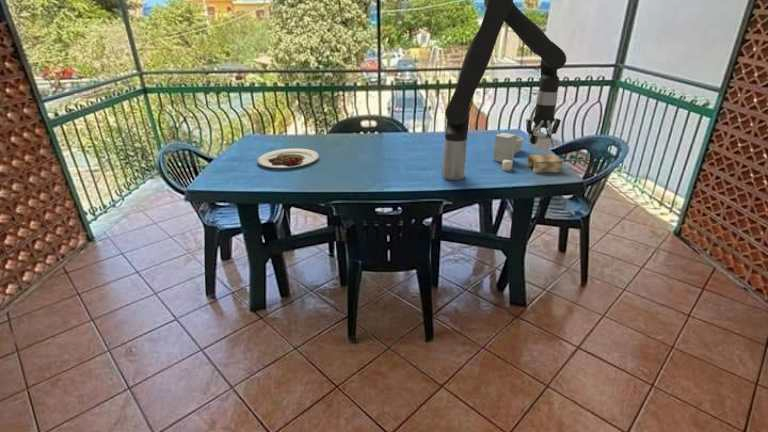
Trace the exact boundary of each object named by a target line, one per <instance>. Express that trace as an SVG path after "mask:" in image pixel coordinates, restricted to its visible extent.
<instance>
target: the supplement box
mask: <svg viewBox="0 0 768 432" xmlns="http://www.w3.org/2000/svg"><path fill="white" fill-rule="evenodd" d="M516 136H517V134H512V133H507V132H501V133H498V134H496V135H495V136H494V138H495V139H494V148H493V158H492V160H493V161H494V162H499V163H503V160H512V161H514V157H515V154H514V151H515V142H516Z"/></svg>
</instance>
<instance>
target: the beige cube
mask: <svg viewBox="0 0 768 432" xmlns="http://www.w3.org/2000/svg"><path fill="white" fill-rule="evenodd" d="M501 163H502V162H501ZM513 163H514V160H503V163H502V165H501V170H502V171H503V172H511V171H512V170H513Z"/></svg>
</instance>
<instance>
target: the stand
mask: <svg viewBox="0 0 768 432" xmlns="http://www.w3.org/2000/svg"><path fill="white" fill-rule="evenodd" d="M526 161H527V162H526V163H527V164H526V166H527V167H530V168H531V167H533V169H532V172H533V173H561V172H562V169H563V167H562V166H563V162H564V161H563V160H562V159H560V157H558V156H557V155H555V154H528V157H527V160H526Z"/></svg>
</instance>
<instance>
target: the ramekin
mask: <svg viewBox="0 0 768 432" xmlns="http://www.w3.org/2000/svg"><path fill="white" fill-rule="evenodd" d="M523 142H524V138H523V137H522V136H519V135H516V142H515V151H514V155H516V154H517V153H519V152H520V151H521V148H522V145H523Z"/></svg>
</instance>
